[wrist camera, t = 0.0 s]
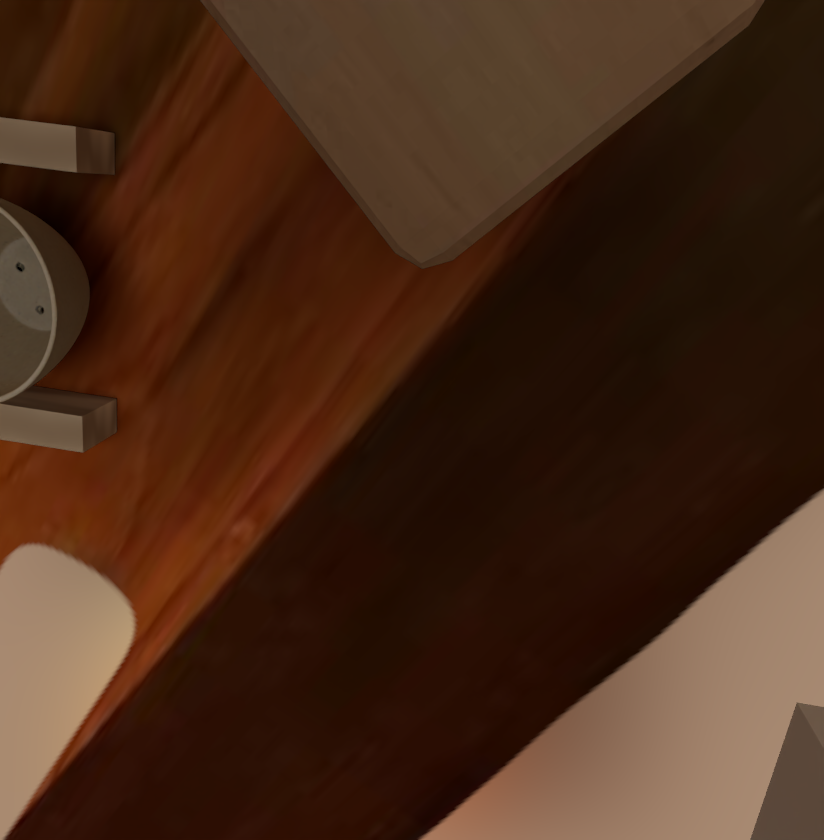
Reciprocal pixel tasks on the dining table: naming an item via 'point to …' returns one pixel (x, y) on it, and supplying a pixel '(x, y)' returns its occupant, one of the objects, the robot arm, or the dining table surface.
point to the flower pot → (36, 299)
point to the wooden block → (466, 94)
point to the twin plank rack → (37, 406)
